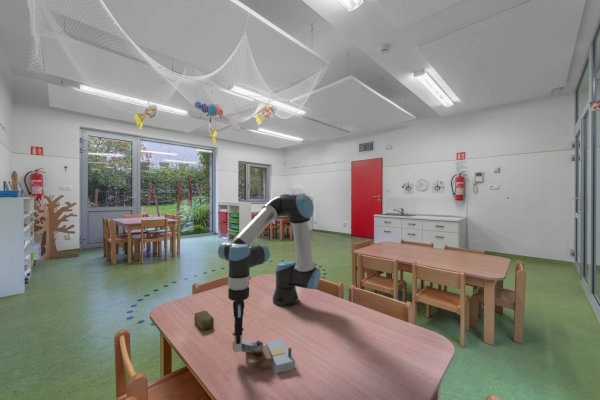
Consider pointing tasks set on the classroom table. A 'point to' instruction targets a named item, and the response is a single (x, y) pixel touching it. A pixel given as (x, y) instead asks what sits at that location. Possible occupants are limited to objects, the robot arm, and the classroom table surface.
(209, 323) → the stone block
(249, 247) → the robot arm
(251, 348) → the latch bar
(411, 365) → the classroom table surface
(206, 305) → the classroom table surface
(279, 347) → the grey block with peg
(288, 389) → the classroom table surface
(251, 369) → the block
